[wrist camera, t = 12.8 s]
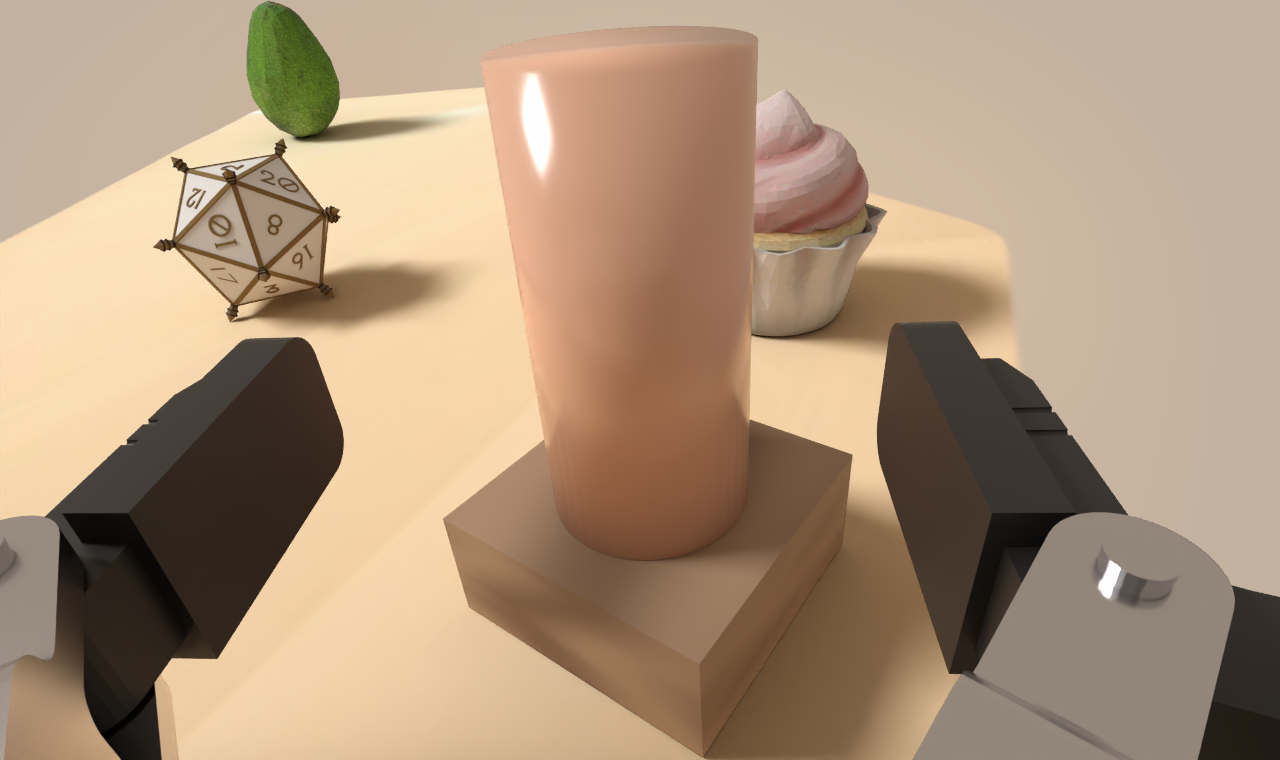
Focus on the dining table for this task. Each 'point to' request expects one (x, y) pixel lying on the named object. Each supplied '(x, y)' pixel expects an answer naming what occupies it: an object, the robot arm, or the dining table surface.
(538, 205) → the peach cylinder
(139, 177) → the dining table surface
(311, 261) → the game die
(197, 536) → the robot arm
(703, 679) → the walnut base
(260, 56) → the avocado
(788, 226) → the cupcake
